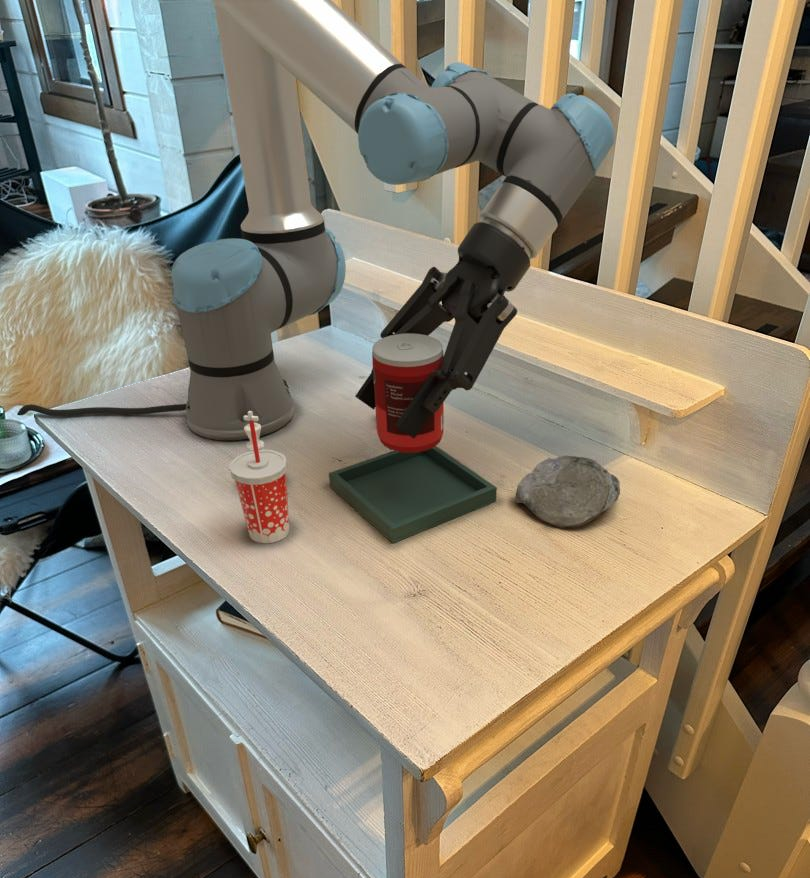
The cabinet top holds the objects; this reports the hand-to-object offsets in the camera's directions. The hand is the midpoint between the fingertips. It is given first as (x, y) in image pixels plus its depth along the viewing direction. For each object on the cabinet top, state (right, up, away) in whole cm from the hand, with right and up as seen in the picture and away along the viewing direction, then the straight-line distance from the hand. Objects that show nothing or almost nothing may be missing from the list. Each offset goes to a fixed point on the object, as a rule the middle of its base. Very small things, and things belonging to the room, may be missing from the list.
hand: (383, 417), depth 84 cm
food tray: (+3, -8, +8) cm, 12 cm away
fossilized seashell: (+22, -10, +5) cm, 24 cm away
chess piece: (-16, -7, +11) cm, 20 cm away
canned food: (+3, -2, +4) cm, 5 cm away
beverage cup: (-13, -13, +3) cm, 19 cm away
